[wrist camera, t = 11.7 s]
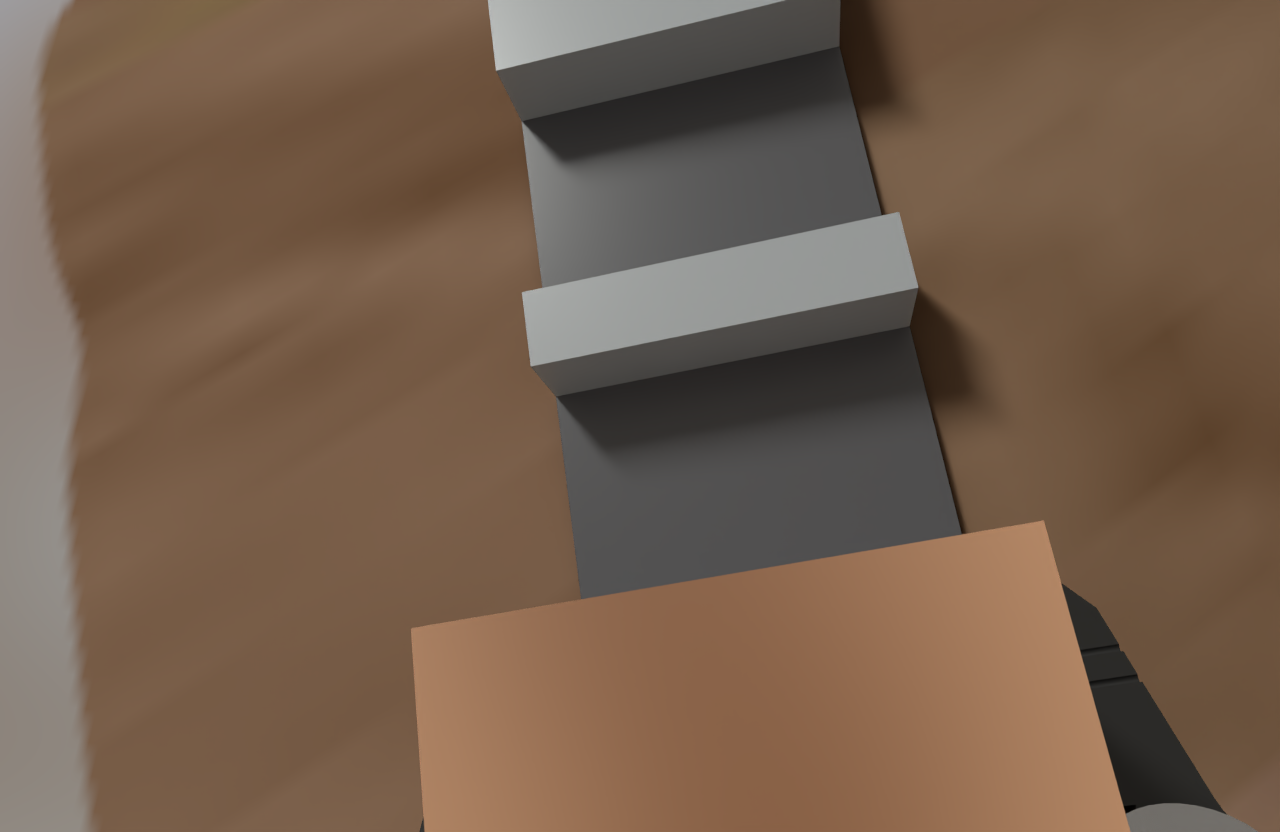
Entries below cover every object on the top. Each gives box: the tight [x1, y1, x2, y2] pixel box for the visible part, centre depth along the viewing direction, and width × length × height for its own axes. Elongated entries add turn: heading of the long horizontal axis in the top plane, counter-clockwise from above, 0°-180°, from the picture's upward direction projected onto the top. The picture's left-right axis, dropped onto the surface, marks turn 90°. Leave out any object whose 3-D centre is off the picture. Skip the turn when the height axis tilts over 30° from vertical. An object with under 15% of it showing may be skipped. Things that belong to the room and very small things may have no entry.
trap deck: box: [488, 0, 962, 599], centre depth 18 cm, size 7×22×2 cm, turn 8°
